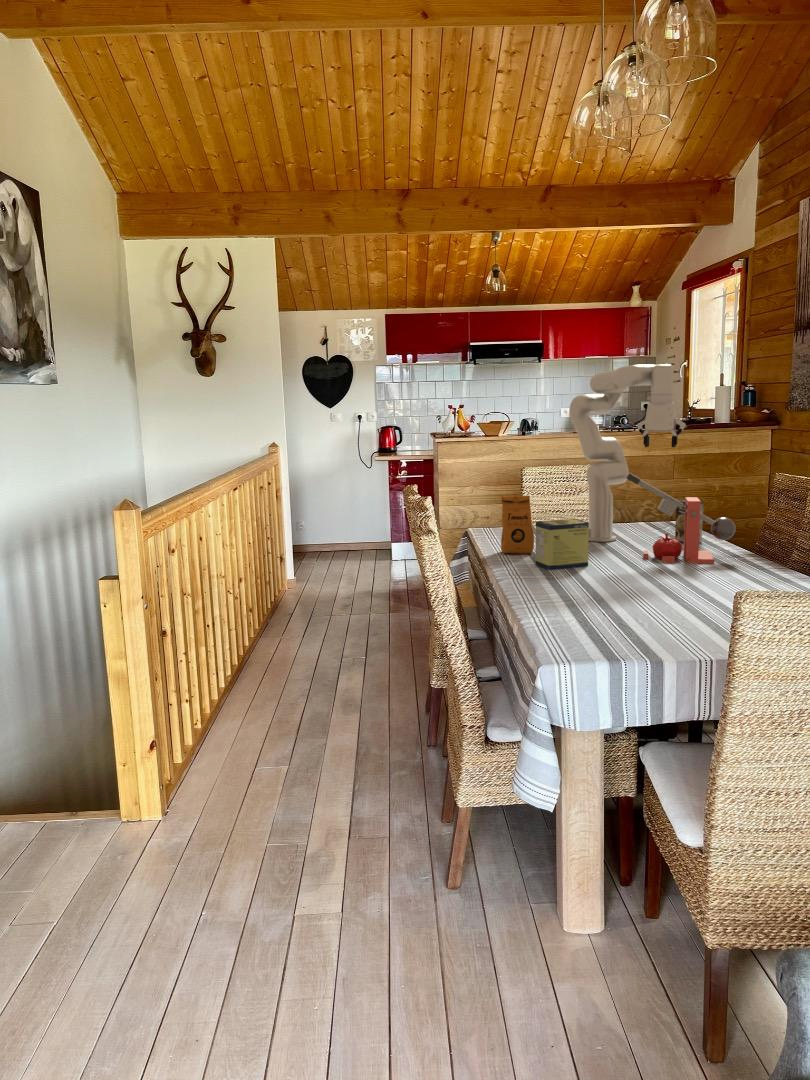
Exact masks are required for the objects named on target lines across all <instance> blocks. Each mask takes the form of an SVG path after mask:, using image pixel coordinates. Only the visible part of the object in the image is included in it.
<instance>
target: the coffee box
mask: <svg viewBox="0 0 810 1080" xmlns="http://www.w3.org/2000/svg"><path fill="white" fill-rule="evenodd" d="M677 500H678V499H677ZM678 501H680V502H682V503H683V506H682V508H680V507H677V508H676V510H675V526H674V527H675V533H674V538H676V539H674V540H678V541H679V542H682V543H684V526H685V499H679V500H678ZM700 513H702V514H703V515H704V501H703V502H702V501H700ZM703 522H704V521H703V520H702V519H700V525H699V543H702V540H703V539H702V536H703Z"/></svg>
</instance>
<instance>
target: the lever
mask: <svg viewBox="0 0 810 1080" xmlns="http://www.w3.org/2000/svg"><path fill="white" fill-rule="evenodd" d="M626 479H627V481H628V480H629V481H631V482H632V483H634V484H636V485H639V486H641V487H642V488H645V489H646V490H648V491H649V492H651V493H653V494H655V495H657V496H659V498H660V497H661V498H662V500H661V501H660V503H659V504H658V505H657V510H658V511H659V512H662V513H663V514H665V515H667V516H669V517H670V518H671V517H672V516H673V515H674V513H675V512H676V508H677V507H680V508H682V506H683V503H682V502H680V501H678V499H676V498H675V497H673V496H671V495H669V494H668V493H665V492H664V491H662V490H660V489H659V488H656V487H655V486H653V485H651V484H650V483H647V482H645V481H644V480H642V479H641V478H640V477H638V476H637V475H635V474H633V473H631V472H629V474H628V475H627V477H626ZM686 512H687V509H686ZM700 519H702V520H703V522H705V523H707V524H709V525H711V526H710V530H711V531H710V532H711V534H712V536H714V537H715V538H716V539H718V540H721V541H727V540H729V539H731V538H732V537H733V536H734V535H735V534H736V524H735V522H734V521H733V520H732V519H731V518H729V517H725V516H723V517H722V516H721V517H718V518H716V519H712V518H711V517H709V516H707V515H705V514H704V513H703V514H702V513H700ZM714 537H713V538H714Z"/></svg>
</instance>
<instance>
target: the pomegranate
mask: <svg viewBox="0 0 810 1080" xmlns="http://www.w3.org/2000/svg"><path fill="white" fill-rule="evenodd" d="M664 535H665V537H664V536H657V538H658V539H657V540H655V542H654V543H653V545H652V551H653V556H654V557H655V559H659V560H662V556H674V557H675V560H676V559H678V558H679V557H680V556H681V554H682V550H683V545H682V543H681V541H678V540H675V539H676V538H675V537H673V536H671V537H669V533H668V532H664Z"/></svg>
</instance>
